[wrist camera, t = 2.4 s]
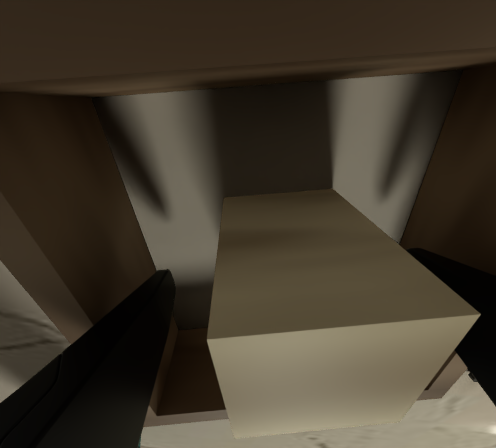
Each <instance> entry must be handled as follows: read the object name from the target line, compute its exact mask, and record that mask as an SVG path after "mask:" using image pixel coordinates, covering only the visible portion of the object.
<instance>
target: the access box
mask: <svg viewBox="0 0 496 448" xmlns="http://www.w3.org/2000/svg"><path fill="white" fill-rule="evenodd" d="M456 70H463V73H462V76H461V78H460V81H459V84H458V87H457V89H456V92H455V95H454V97H453V100H452V103H451V106H450V108H449V111H448V114H447V117H446V119H445V122H444V125H443V128H442V130H441V133H440V136H439V139H438V141H437V144H436V147H435V150H434V152H433V155H432V158H431V161H430V163H429V166H428V169H427V172H426V174H425V177H424V180H423V183H422V185H421V188H420V191H419V194H418V196H417V199H416V202H415V205H414V207H413V210H412V213H411V216H410V218H409V221H408V224H407V227H406V229H405V232H404V235H403V238H402V240H401V243H400V246H401V247H402V248H403V249H404V250H407V249H409V248H422V249H425V250H427V251H430V252H433V253H436V254H438V255H441V256H444V257H446V258H449V259H452V260H454V261H457V262H460V263H463V264H465V265H468V266H471V267H473V268H476V269H479V270H482V271H484V272H487V273H490V274H492V275H495V276H496V0H0V260H1V261H2V263H3V264H4V265H5V266H6V267H7V269H8V270H9V271H10V272H11V273H12V275H13V276H14V277H15V278H16V279H17V280H18V282H19V283H20V284H21V285H22V286H23V288H24V289H25V290H26V291H27V292H28V294H29V295H30V296H31V297H32V298H33V299H34V301H35V302H36V303H37V304H38V305H39V307H40V308H41V309H42V310H43V311H44V313H45V314H46V315H47V316H48V317H49V318H50V320H51V321H52V322H53V323H54V324H55V326H56V327H57V328H58V329H59V330H60V332H61V333H62V334H63V335H64V336H65V337H66V339H67V340H68V341H69V342H70V343H71V344H72V343H73V342H75V341H76V340H77V339H78V338H79V337H81V336H82V335H83V334H84V333H85V332H86V331H88V330H89V329H90V328H91V327H92V326H93V325H95V324H96V323H97V322H98V321H99V320H100V319H102V318H103V317H104V316H105V315H106V314H107V313H109V312H110V311H111V310H112V309H113V308H114V307H116V306H117V305H118V304H119V303H120V302H121V301H123V300H124V299H125V298H126V297H127V296H129V295H130V294H131V293H132V292H133V291H134V290H136V289H137V288H138V287H139V286H140V285H141V284H143V283H144V282H145V281H146V280H147V279H148V278H150V277H151V276H152V275H153V274H154V273H155V272H156V269H155V267H154V264H153V261H152V259H151V256H150V253H149V251H148V248H147V245H146V243H145V240H144V237H143V235H142V232H141V229H140V227H139V224H138V222H137V219H136V216H135V214H134V211H133V208H132V206H131V203H130V200H129V198H128V195H127V192H126V190H125V187H124V184H123V182H122V179H121V176H120V174H119V171H118V169H117V166H116V163H115V161H114V158H113V155H112V153H111V150H110V147H109V145H108V142H107V139H106V137H105V134H104V131H103V129H102V126H101V124H100V121H99V118H98V116H97V113H96V110H95V108H94V105H93V102H92V100H91V98H92V97H106V96H119V95H133V94H146V93H160V92H173V91H187V90H200V89H214V88H227V87H240V86H254V85H267V84H281V83H294V82H308V81H321V80H335V79H348V78H362V77H375V76H389V75H402V74H416V73H429V72H442V71H456ZM207 333H208V328H197V329H186V330H178V327H177V325H176V322H175V319H174V317H173V314H172V317H171V323H170V329H169V333H168V337H167V341H166V345H165V348H164V352H163V356H162V359H161V363H160V367H159V370H158V374H157V378H156V381H155V385H154V389H153V392H152V396H151V400H150V404H149V407H148V411H147V415H146V418H145V422H144V426H143V427H149V426H160V425H170V424H180V423H191V422H201V421H211V420H221V419H229V418H228V414H227V411H226V407H225V404H224V400H223V396H222V393H221V389H220V386H219V382H218V378H217V375H216V371H215V368H214V364H213V360H212V357H211V353H210V350H209V346H208V342H207ZM466 370H467V367H466V365H465V364H464V363H463V361H462V360H461V359H460V357H459V356H458V355H457V353H456V352H455V350H454V351H453V352H452V353H451V355H450V356H449V357H448V359H447V360H446V361H445V363H444V364H443V365H442V367H441V368H440V369H439V371H438V372H437V373H436V375H435V376H434V377H433V379H432V380H431V381H430V383H429V384H428V385H427V387H426V388H425V389H424V391H423V392H422V393H421V395H420V396H419V397H418V399H417V400H427V399H437V398H442V397H443V396H444V395H445V393H446V392H447V391H448V390H449V389H450V388H451V387H452V385H453V384H454V383H455V382H456V381H457V380H458V379H459V377H460V376H461V375H462V374H463V373H464V372H465V371H466ZM417 400H416V401H417Z"/></svg>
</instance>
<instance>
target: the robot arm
mask: <svg viewBox="0 0 496 448" xmlns="http://www.w3.org/2000/svg"><path fill="white" fill-rule="evenodd" d="M406 251H407V252H408V253H409V254H410V255H412V256H413V257H414V258H415V259H416V260H417V261H419V262H420V263H421V264H422V265H423V266H425V267H426V268H427V269H428V270H429V271H430V272H432V273H433V274H434V275H435V276H436V277H438V278H439V279H440V280H441V281H442V282H443V283H445V284H446V285H447V286H448V287H449V288H451V289H452V290H453V291H454V292H455V293H457V294H458V295H459V296H460V297H461V298H462V299H464V300H465V301H466V302H467V303H468V304H470V305H471V306H472V307H473V308H474V309H475V310H477V311H478V312H479V313H480V314H481V315H480V316H479V318H478V319H477V320H476V322H475V323H474V324H473V326H472V327H471V328H470V330H469V331H468V332H467V334H466V335H465V336H464V338H463V339H462V340H461V341H460V343H459V344H458V345H457V347H456V348H455V349H454V350H455V352H456V353H457V355H458V356H459V357H460V359H461V360H462V361H463V363H464V364H465V365H466V367H467V368H468V369H469V371H470V373H469V377H470V378H471V379H472V380H473V381H474V382H478V383H479V384H480V386H481V387H482V388H483V390H484V391H485V392H486V394H487V395H488V396H489V398H490V399H491V401H492V402H493V403H494V405H495V406H496V276H495V275H492V274H490V273H487V272H484V271H482V270H479V269H476V268H473V267H471V266H468V265H465V264H463V263H460V262H457V261H454V260H452V259H449V258H446V257H444V256H441V255H438V254H436V253H433V252H430V251H427V250H425V249H422V248H409V249H407V250H406ZM175 291H176V287H175V283H174V280H173V277H172V274H171V271H170V270H168V269H167V270H158V271H157V272H155V273H154V274H153V275H152V276H151V277H150V278H148V279H147V280H146V281H145V282H144V283H143V284H141V285H140V286H139V287H138V288H137V289H136V290H134V291H133V292H132V293H131V294H130V295H129V296H127V297H126V298H125V299H124V300H123V301H121V302H120V303H119V304H118V305H117V306H116V307H114V308H113V309H112V310H111V311H110V312H109V313H107V314H106V315H105V316H104V317H103V318H102V319H100V320H99V321H98V322H97V323H96V324H95V325H93V326H92V327H91V328H90V329H89V330H88V331H86V332H85V333H84V334H83V335H82V336H81V337H79V338H78V339H77V340H76V341H75V342H73V343H72V344H71V345H70V346H69V347H68V348H66V349H65V350H64V351H63V352H62V354H60V355H58V356H57V357H56V358H55V359H53V360H52V361H51V362H50V363H49V364H48V365H46V366H45V367H44V368H43V369H42V370H40V371H39V372H38V373H37V374H36V375H34V376H33V377H32V378H31V379H30V380H28V381H27V382H26V383H25V384H24V385H22V386H21V387H20V388H19V389H18V390H16V391H15V392H14V393H12V394H11V395H10V396H9V397H7V398H6V399H5V400H4V401H2V402H1V403H0V448H138V444H139V440H140V437H141V433H142V429H143V426H144V422H145V418H146V415H147V411H148V407H149V404H150V400H151V396H152V392H153V389H154V385H155V381H156V378H157V374H158V370H159V367H160V363H161V359H162V356H163V352H164V348H165V345H166V341H167V337H168V333H169V329H170V323H171V317H172V310H173V304H174V298H175Z"/></svg>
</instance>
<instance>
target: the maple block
mask: <svg viewBox="0 0 496 448" xmlns="http://www.w3.org/2000/svg"><path fill="white" fill-rule="evenodd" d="M480 315H481V314H480V313H479V312H478V311H477V310H475V309H474V308H473V307H472V306H471V305H470V304H468V303H467V302H466V301H465V300H464V299H462V298H461V297H460V296H459V295H458V294H457V293H455V292H454V291H453V290H452V289H451V288H449V287H448V286H447V285H446V284H445V283H443V282H442V281H441V280H440V279H439V278H438V277H436V276H435V275H434V274H433V273H432V272H430V271H429V270H428V269H427V268H426V267H425V266H423V265H422V264H421V263H420V262H419V261H417V260H416V259H415V258H414V257H413V256H412V255H410V254H409V253H408V252H407V251H406V250H404V249H403V248H402V247H401V246H400V245H399V244H397V243H396V242H395V241H394V240H393V239H391V238H390V237H389V236H388V235H387V234H386V233H384V232H383V231H382V230H381V229H380V228H378V227H377V226H376V225H375V224H374V223H373V222H371V221H370V220H369V219H368V218H367V217H365V216H364V215H363V214H362V213H361V212H360V211H358V210H357V209H356V208H355V207H354V206H352V205H351V204H350V203H349V202H348V201H347V200H345V199H344V198H343V197H342V196H341V195H339V194H338V193H337V192H336V191H335V190H334V189H323V190H310V191H298V192H286V193H274V194H261V195H249V196H237V197H225V198H224V201H223V209H222V217H221V226H220V234H219V242H218V250H217V259H216V267H215V275H214V284H213V292H212V300H211V309H210V317H209V325H208V333H207V342H208V346H209V350H210V353H211V357H212V360H213V364H214V368H215V371H216V375H217V378H218V382H219V386H220V389H221V393H222V396H223V400H224V404H225V407H226V411H227V414H228V418H229V422H230V425H231V429H232V432H233V436H234V439H237V438H247V437H257V436H267V435H277V434H287V433H297V432H307V431H317V430H327V429H337V428H347V427H357V426H367V425H377V424H387V423H397V422H400V421H401V420H402V419H403V417H404V416H405V415H406V413H407V412H408V411H409V409H410V408H411V407H412V405H413V404H414V403H415V401H416V400H417V399H418V397H419V396H420V395H421V393H422V392H423V391H424V389H425V388H426V387H427V385H428V384H429V383H430V381H431V380H432V379H433V377H434V376H435V375H436V373H437V372H438V371H439V369H440V368H441V367H442V365H443V364H444V363H445V361H446V360H447V359H448V357H449V356H450V355H451V353H452V352H453V351H454V349H455V348H456V347H457V345H458V344H459V343H460V341H461V340H462V339H463V338H464V336H465V335H466V334H467V332H468V331H469V330H470V328H471V327H472V326H473V324H474V323H475V322H476V320H477V319H478V318H479V316H480Z"/></svg>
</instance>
